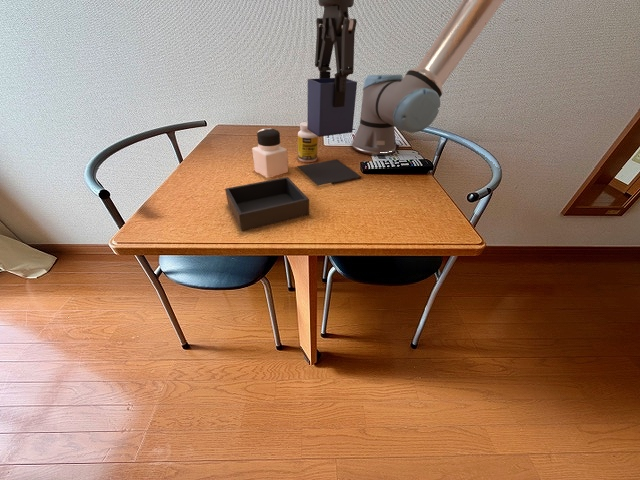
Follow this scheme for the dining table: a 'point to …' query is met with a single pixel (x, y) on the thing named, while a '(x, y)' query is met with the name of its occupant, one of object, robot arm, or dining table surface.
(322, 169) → the mat
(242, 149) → the dining table surface
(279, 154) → the medicine bottle
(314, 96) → the inner bin
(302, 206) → the bin
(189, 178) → the dining table surface
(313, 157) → the pill bottle
